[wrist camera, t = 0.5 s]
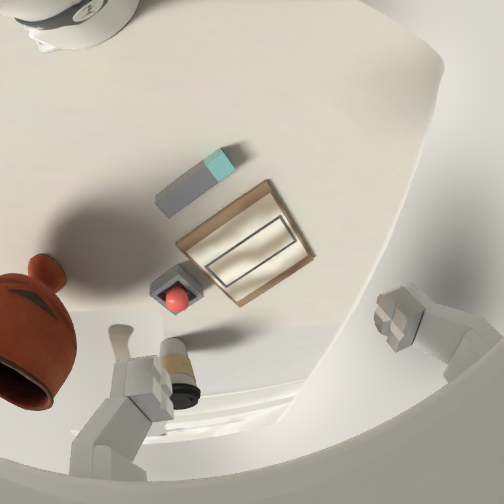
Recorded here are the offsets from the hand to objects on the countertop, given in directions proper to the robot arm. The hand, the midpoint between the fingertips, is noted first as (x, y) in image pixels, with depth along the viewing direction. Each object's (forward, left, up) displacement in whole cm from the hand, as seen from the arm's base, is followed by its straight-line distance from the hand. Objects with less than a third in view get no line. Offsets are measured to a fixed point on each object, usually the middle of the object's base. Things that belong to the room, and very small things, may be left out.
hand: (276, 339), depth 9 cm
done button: (+19, -19, -32) cm, 42 cm away
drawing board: (+22, -4, -35) cm, 41 cm away
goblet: (0, -37, -35) cm, 51 cm away
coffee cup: (+32, -32, -35) cm, 57 cm away
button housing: (+19, -19, -35) cm, 43 cm away
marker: (+5, -4, -35) cm, 35 cm away
